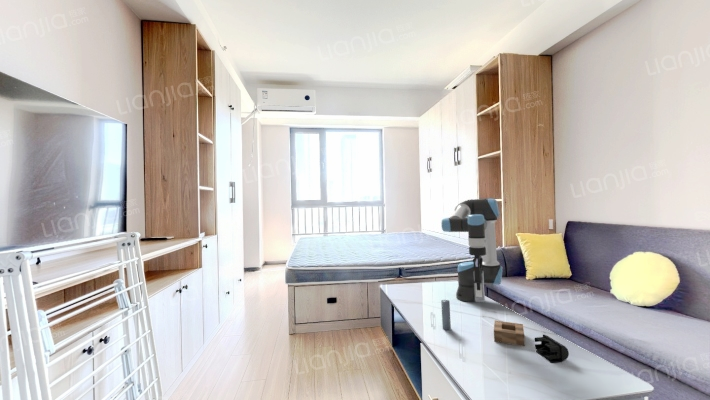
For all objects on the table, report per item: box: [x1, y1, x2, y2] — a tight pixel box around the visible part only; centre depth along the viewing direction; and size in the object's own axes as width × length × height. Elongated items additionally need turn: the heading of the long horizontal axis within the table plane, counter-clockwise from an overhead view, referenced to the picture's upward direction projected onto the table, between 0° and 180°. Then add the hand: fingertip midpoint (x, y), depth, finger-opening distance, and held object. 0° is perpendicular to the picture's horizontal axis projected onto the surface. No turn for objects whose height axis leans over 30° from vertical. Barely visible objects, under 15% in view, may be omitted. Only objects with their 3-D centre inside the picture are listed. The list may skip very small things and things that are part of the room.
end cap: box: [534, 334, 570, 364], centre depth 117 cm, size 10×7×7 cm
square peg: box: [474, 271, 486, 303], centre depth 140 cm, size 4×4×14 cm
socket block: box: [493, 320, 526, 347], centre depth 134 cm, size 12×12×5 cm
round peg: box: [440, 299, 452, 331], centre depth 147 cm, size 4×4×14 cm
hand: (479, 295), depth 139 cm, fingers closed on square peg, 4 cm apart
